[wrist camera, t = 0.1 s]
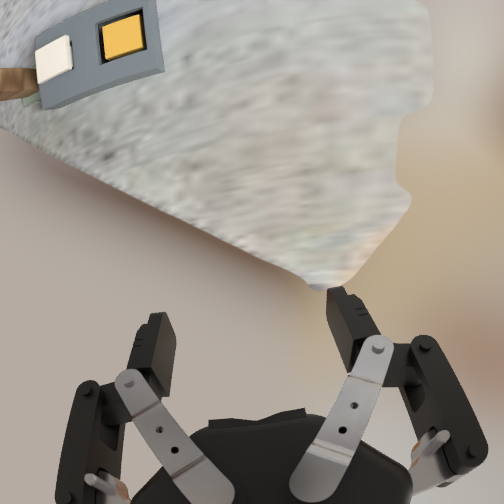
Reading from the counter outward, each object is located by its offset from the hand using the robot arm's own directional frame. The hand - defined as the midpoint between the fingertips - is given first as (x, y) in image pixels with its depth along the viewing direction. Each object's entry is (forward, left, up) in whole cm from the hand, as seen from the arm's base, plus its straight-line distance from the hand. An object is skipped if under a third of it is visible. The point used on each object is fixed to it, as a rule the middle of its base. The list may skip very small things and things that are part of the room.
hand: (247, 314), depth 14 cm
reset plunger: (-22, -11, -27) cm, 36 cm away
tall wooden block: (-22, -28, -29) cm, 46 cm away
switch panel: (-22, -16, -29) cm, 40 cm away
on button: (-22, -20, -26) cm, 39 cm away
